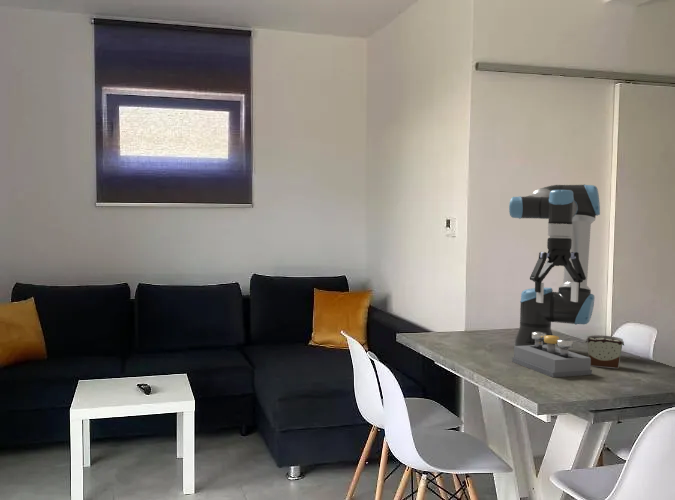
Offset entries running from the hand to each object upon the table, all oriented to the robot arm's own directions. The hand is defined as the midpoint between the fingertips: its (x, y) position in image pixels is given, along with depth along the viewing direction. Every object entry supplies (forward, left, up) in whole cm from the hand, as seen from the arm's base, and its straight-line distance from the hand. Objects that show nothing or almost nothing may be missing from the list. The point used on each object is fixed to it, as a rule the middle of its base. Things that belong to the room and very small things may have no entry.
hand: (557, 302), depth 224 cm
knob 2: (-2, +2, -18) cm, 18 cm away
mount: (-2, -5, -23) cm, 24 cm away
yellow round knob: (-2, -5, -18) cm, 19 cm away
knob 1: (-2, -12, -18) cm, 22 cm away
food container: (-23, -4, -23) cm, 33 cm away
